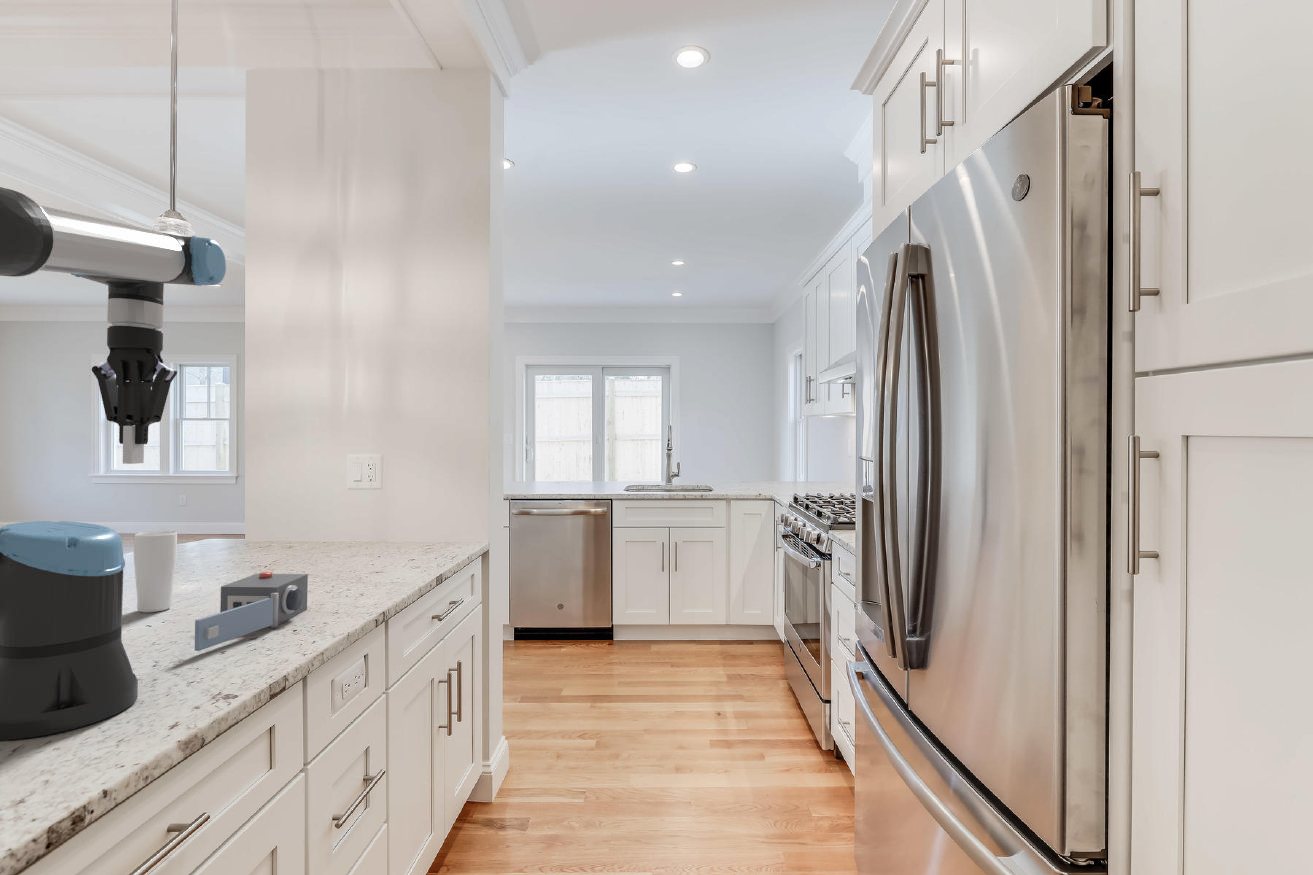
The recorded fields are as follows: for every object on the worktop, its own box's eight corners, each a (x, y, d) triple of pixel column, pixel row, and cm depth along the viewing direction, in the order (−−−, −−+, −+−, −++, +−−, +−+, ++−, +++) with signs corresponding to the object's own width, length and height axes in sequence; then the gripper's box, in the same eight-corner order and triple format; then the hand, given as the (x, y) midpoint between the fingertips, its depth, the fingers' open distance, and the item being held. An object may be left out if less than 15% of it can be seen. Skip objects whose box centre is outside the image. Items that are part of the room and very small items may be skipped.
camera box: (283, 626, 116) (284, 583, 116) (218, 625, 115) (219, 582, 115) (315, 609, 127) (316, 570, 127) (255, 608, 127) (256, 569, 127)
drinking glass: (185, 605, 128) (186, 531, 128) (155, 615, 121) (156, 536, 121) (154, 604, 128) (155, 529, 128) (122, 613, 122) (124, 535, 122)
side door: (281, 626, 115) (282, 593, 115) (202, 655, 100) (203, 617, 100) (273, 625, 116) (274, 592, 116) (193, 654, 100) (194, 616, 100)
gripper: (189, 332, 115) (186, 463, 115) (114, 330, 114) (112, 461, 114) (158, 325, 107) (155, 465, 107) (78, 322, 107) (75, 463, 107)
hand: (133, 463), depth 111 cm, fingers closed
